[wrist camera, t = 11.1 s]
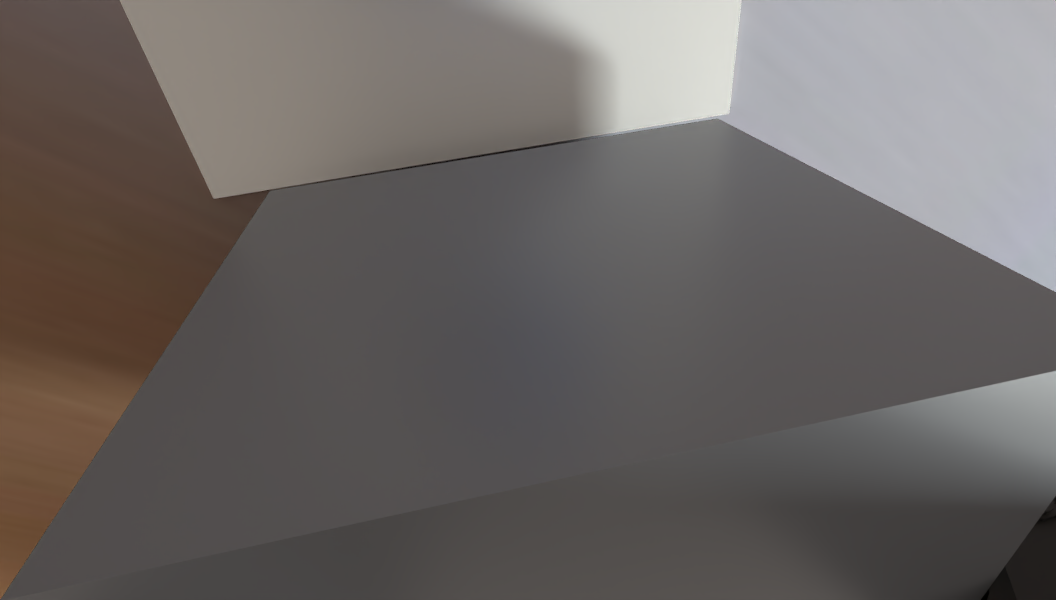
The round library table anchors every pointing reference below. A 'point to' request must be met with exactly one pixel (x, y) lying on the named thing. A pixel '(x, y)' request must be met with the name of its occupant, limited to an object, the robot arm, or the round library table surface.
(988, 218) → the round library table surface
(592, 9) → the white flat square plate
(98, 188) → the round library table surface
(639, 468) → the block
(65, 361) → the round library table surface
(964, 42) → the round library table surface
